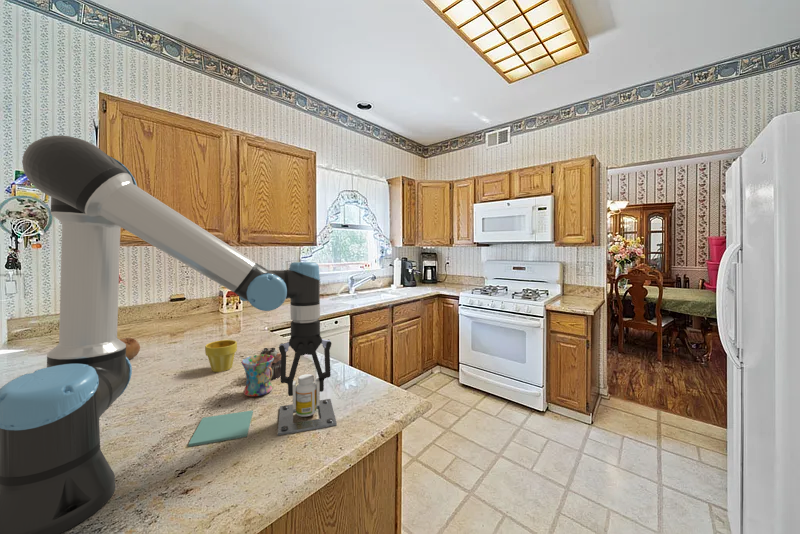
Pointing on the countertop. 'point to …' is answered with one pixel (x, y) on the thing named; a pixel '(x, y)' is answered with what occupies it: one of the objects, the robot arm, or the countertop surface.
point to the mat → (222, 428)
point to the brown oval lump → (131, 347)
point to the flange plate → (289, 427)
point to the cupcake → (274, 361)
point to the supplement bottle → (306, 396)
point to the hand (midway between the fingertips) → (306, 404)
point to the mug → (258, 374)
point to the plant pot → (221, 354)
